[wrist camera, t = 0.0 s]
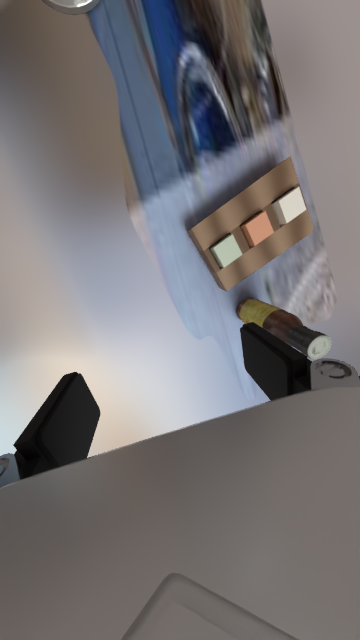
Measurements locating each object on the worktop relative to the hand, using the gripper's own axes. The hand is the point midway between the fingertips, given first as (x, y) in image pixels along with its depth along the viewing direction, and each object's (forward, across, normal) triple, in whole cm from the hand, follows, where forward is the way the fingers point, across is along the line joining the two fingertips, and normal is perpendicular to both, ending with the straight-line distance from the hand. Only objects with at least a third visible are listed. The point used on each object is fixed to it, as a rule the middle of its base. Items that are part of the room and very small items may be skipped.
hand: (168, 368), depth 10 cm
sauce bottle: (+31, -20, +12) cm, 39 cm away
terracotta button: (+29, -21, -6) cm, 36 cm away
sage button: (+29, -15, -3) cm, 33 cm away
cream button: (+29, -28, -9) cm, 41 cm away
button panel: (+31, -21, -6) cm, 38 cm away
